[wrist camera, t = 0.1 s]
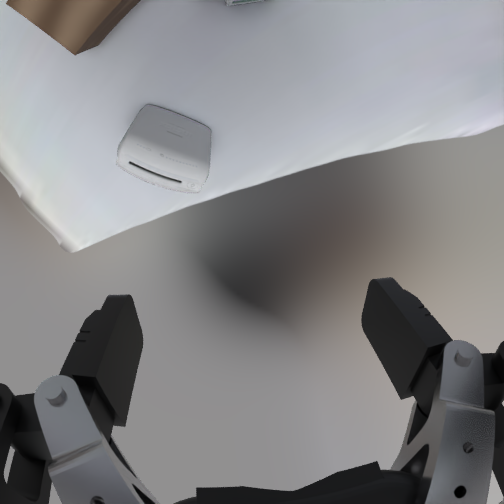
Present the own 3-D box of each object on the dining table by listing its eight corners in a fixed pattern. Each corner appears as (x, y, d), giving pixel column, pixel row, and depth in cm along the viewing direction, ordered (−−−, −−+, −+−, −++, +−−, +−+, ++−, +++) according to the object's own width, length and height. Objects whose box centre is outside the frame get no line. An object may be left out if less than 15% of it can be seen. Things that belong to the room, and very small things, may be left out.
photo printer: (217, 127, 36) (216, 178, 28) (202, 153, 39) (197, 209, 30) (145, 98, 32) (115, 140, 23) (133, 126, 34) (104, 176, 26)
